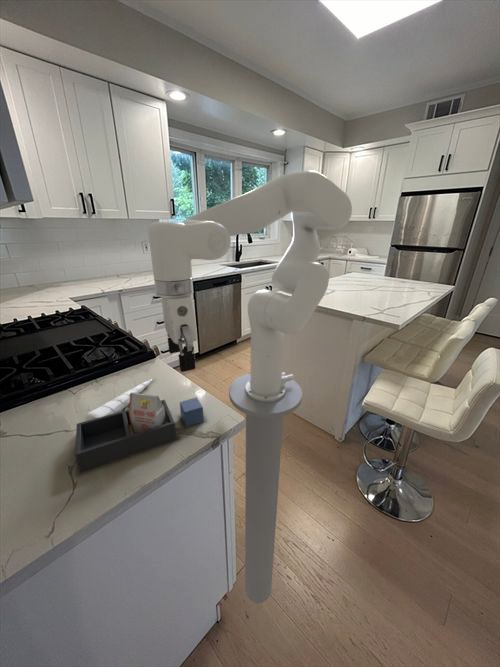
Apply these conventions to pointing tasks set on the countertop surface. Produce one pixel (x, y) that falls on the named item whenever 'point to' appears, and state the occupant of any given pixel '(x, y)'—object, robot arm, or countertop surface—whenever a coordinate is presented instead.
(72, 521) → the countertop surface
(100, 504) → the countertop surface
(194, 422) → the block
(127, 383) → the countertop surface
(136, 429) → the white printed box
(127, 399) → the unicorn horn
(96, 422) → the sorter
